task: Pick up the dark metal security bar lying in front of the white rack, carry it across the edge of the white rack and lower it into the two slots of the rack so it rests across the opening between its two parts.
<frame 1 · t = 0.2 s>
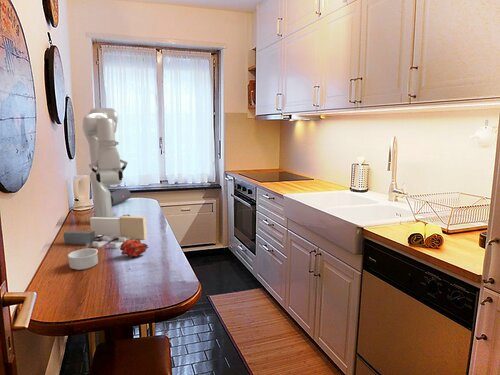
hand: (110, 181, 176), 31 cm above the table, tool pointing down, fingers open, 9 cm apart
security bar: (80, 243, 182), on the table
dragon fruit: (134, 256, 163), on the table
bluetooth speaker: (118, 204, 273), on the table
tin: (123, 231, 202), on the table
saucepan: (85, 262, 157), on the table
white rack: (118, 237, 190), on the table
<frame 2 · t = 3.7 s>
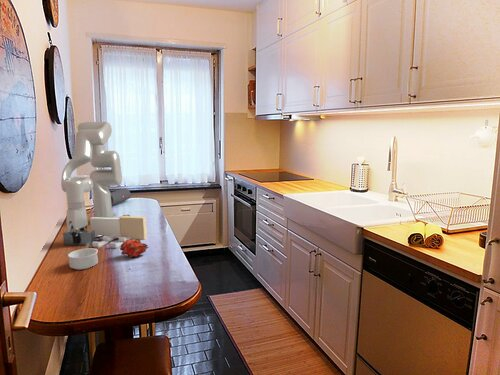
hand: (79, 241, 182), 1 cm above the table, tool pointing down, fingers closed on security bar, 4 cm apart
security bar: (80, 243, 182), on the table, touching gripper
everything else where it was.
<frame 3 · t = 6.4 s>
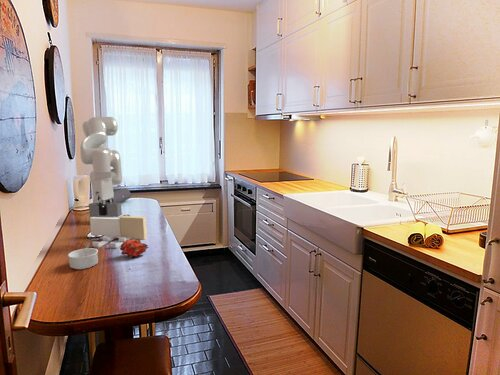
hand: (105, 213, 176), 15 cm above the table, tool pointing down, fingers closed on security bar, 4 cm apart
security bar: (105, 215, 177), point 14 cm above the table, touching gripper
everything else where it was.
when the fingers open (3 cm above the table, at t = 9.1 s): security bar drops 2 cm, resting on white rack.
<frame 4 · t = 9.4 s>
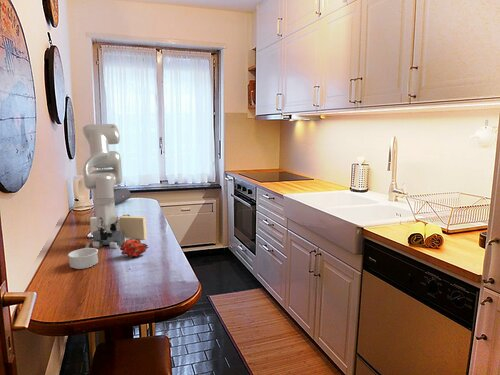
hand: (109, 237, 178), 4 cm above the table, tool pointing down, fingers open, 7 cm apart
security bar: (109, 243, 179), point 1 cm above the table, touching white rack
everything else where it was.
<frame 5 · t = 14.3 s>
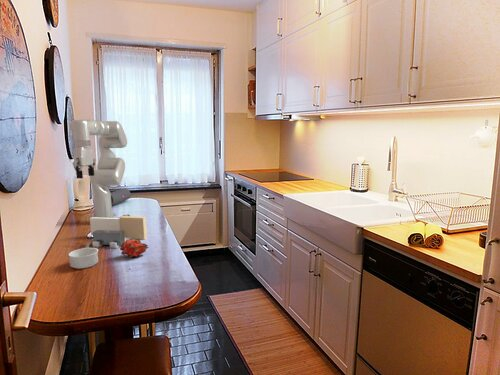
hand: (85, 176, 195), 30 cm above the table, tool pointing down, fingers open, 9 cm apart
at the end: security bar 0.1 cm from the target spot, point 0.6 cm above the table; security bar tilted 0°; the gripper is holding nothing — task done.
